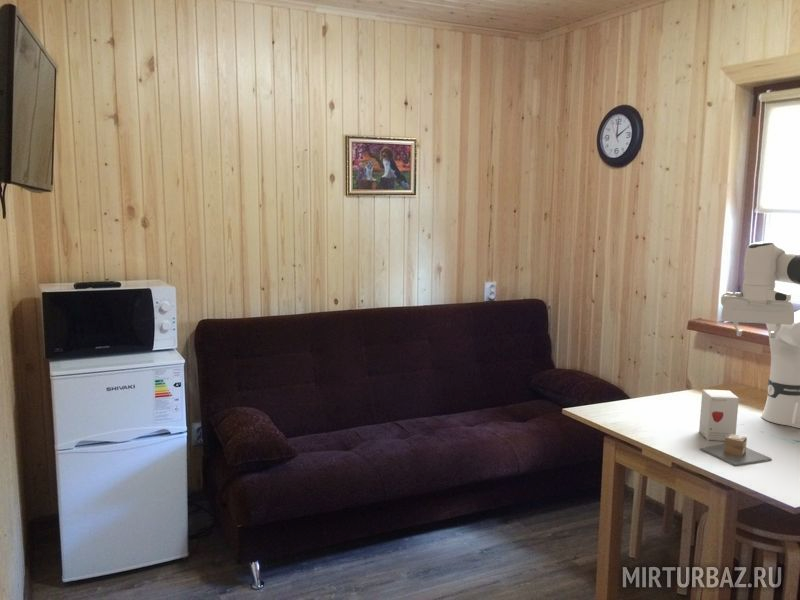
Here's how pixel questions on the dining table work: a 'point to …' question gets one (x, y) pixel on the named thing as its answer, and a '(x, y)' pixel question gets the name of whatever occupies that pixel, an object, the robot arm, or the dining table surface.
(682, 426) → the dining table surface
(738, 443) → the letter cube
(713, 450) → the coaster
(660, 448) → the dining table surface
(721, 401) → the supplement box
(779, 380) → the robot arm
